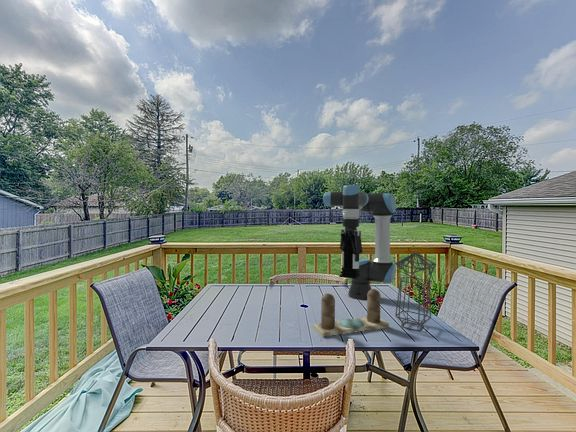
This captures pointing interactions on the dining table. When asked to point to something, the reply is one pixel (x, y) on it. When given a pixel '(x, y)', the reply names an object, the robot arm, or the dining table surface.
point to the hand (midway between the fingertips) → (350, 266)
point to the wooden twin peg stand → (349, 325)
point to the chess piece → (348, 258)
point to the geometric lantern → (419, 288)
